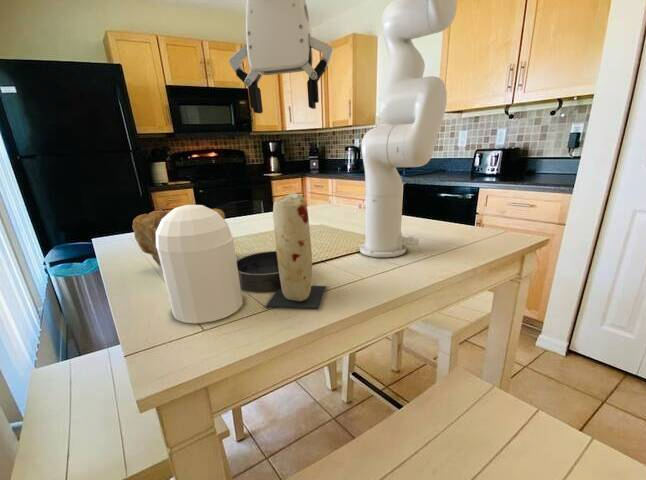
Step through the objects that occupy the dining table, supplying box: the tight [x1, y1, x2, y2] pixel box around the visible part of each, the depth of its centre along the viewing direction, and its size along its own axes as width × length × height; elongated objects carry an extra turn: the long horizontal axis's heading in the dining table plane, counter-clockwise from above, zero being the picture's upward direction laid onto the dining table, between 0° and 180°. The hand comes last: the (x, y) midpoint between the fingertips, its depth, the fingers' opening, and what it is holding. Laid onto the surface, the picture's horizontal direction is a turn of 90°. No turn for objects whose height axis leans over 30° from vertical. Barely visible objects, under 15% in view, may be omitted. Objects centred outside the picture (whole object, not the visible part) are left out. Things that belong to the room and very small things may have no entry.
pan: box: [236, 250, 281, 293], centre depth 78 cm, size 16×16×4 cm
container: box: [156, 204, 243, 324], centre depth 63 cm, size 13×13×20 cm
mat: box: [266, 285, 327, 310], centre depth 68 cm, size 10×10×1 cm
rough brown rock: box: [131, 208, 226, 268], centre depth 85 cm, size 23×17×15 cm
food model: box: [272, 192, 313, 301], centre depth 64 cm, size 10×7×20 cm
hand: (285, 110), depth 58 cm, fingers open, 9 cm apart
